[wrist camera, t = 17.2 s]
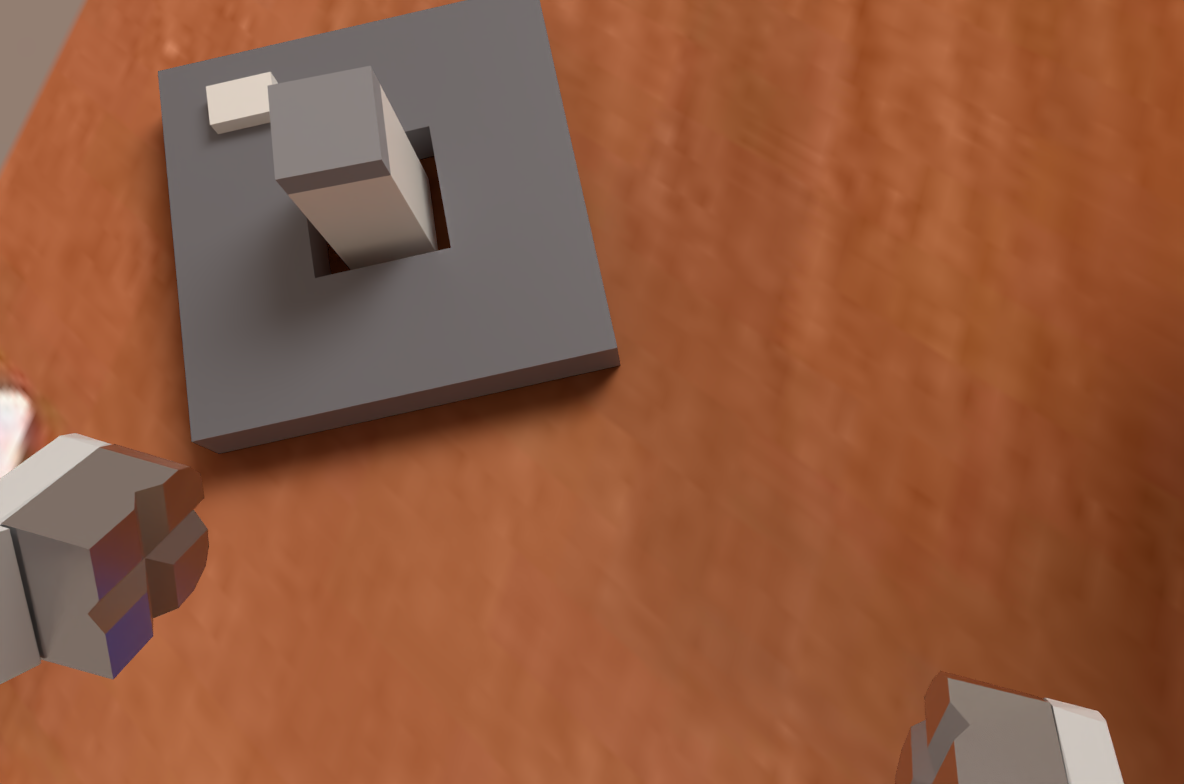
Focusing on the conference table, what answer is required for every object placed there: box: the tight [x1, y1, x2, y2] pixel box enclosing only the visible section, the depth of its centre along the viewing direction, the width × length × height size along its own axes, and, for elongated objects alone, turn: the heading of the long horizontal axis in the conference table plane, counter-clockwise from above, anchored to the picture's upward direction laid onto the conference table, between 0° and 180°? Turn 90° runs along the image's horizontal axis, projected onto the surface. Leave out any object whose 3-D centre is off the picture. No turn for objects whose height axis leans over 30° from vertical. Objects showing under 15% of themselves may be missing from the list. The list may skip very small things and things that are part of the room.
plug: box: [267, 66, 438, 270], centre depth 40 cm, size 4×4×9 cm
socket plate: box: [158, 0, 620, 454], centre depth 43 cm, size 18×18×3 cm
